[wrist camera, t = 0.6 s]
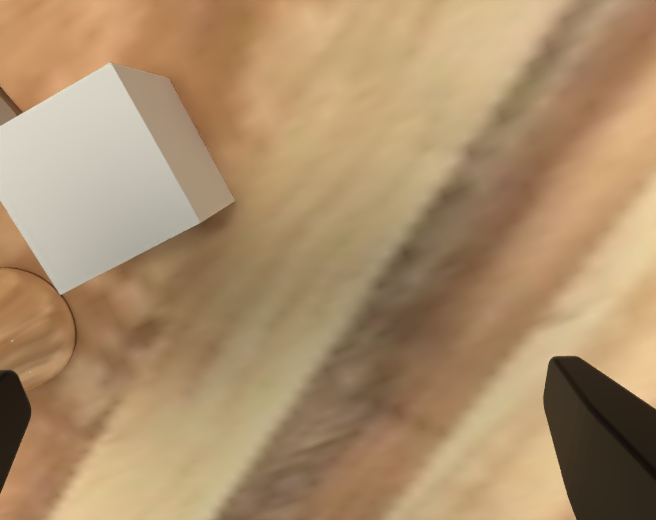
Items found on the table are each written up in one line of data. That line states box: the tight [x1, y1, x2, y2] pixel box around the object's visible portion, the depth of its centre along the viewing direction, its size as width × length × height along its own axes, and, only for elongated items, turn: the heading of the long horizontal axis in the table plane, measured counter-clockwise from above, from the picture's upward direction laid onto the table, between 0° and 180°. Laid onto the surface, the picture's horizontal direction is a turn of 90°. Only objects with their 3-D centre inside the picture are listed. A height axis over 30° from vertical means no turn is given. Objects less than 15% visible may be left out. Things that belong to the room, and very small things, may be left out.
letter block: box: [0, 62, 235, 295], centre depth 22 cm, size 6×6×6 cm
